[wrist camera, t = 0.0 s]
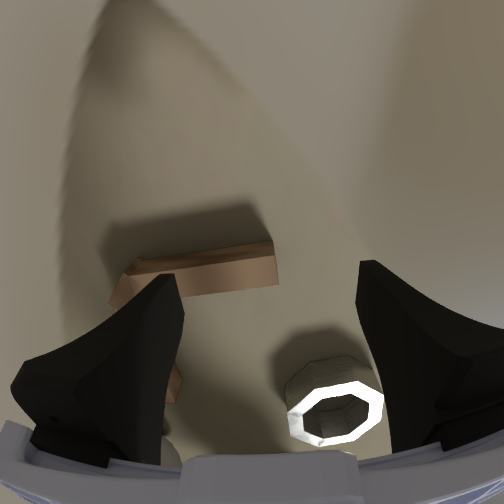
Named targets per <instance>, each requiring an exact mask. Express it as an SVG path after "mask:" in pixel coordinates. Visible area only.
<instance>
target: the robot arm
mask: <svg viewBox="0 0 504 504" xmlns="http://www.w3.org/2000/svg"><path fill="white" fill-rule="evenodd" d="M355 304H356V308H357V313H358V317H359V321H360V324H361V327H362V330H363V332H364V335H365V337H366V340H367V343H368V345H369V348H370V350H371V353H372V356H373V358H374V361H375V364H376V366H377V369H378V373H379V376H380V380H381V384H382V389H383V393H384V398H385V403H386V409H387V415H388V421H389V428H390V436H391V446H392V454H390V455H385V456H381V457H376V458H371V459H365V460H360V461H357V458H356V455H354V454H352V453H348V452H345V451H342V450H315V451H305V452H293V453H277V454H248V455H228V454H214V455H199V456H196V457H194V458H191V459H189V460H187V461H185V462H183V465H182V468H176V467H166V466H161V441H162V427H163V417H164V408H165V400H166V393H167V387H168V383H169V378H170V375H171V371H172V368H173V364H174V361H175V357H176V354H177V350H178V347H179V343H180V339H181V336H182V330H183V322H184V315H185V313H184V310H183V306H182V302H181V298H180V294H179V290H178V286H177V282H176V278H175V274H174V273H167V274H159V275H158V276H156V277H155V278H154V279H153V280H152V281H151V282H150V283H148V284H147V285H146V286H145V287H144V288H143V289H142V290H141V291H140V292H139V293H138V294H137V295H135V296H134V297H133V298H132V299H131V300H130V301H129V302H128V303H126V304H125V305H124V306H123V307H122V308H120V309H119V310H118V311H117V312H116V313H115V314H113V315H112V316H111V317H110V318H108V319H107V320H106V321H104V322H103V323H101V324H100V325H98V326H97V327H96V328H94V329H93V330H91V331H89V332H88V333H86V334H84V335H83V336H81V337H79V338H77V339H76V340H74V341H72V342H70V343H68V344H66V345H64V346H62V347H60V348H58V349H56V350H54V351H51V352H49V353H47V354H44V355H41V356H38V357H35V358H33V359H30V360H27V361H25V362H24V363H23V365H22V367H21V368H20V370H19V372H18V374H17V375H16V377H15V379H14V381H13V382H12V384H11V386H10V387H11V393H12V395H13V397H14V399H15V401H16V402H17V403H18V405H19V406H20V407H21V408H22V409H23V410H24V412H25V413H26V414H27V415H28V416H29V417H30V418H31V419H32V420H33V421H34V423H36V427H35V429H34V431H32V430H31V429H30V428H28V427H25V426H23V425H20V424H17V423H14V422H12V421H9V420H7V421H6V422H5V424H4V426H3V428H2V430H1V432H0V483H1V484H2V485H3V486H5V487H6V488H8V489H9V490H11V491H12V492H14V493H15V494H17V495H18V496H20V497H21V498H23V499H24V500H26V501H28V502H31V503H33V504H479V503H480V502H483V501H485V500H487V499H488V498H490V497H492V496H494V495H496V494H498V493H500V492H501V491H503V490H504V329H500V328H496V327H493V326H489V325H487V324H483V323H481V322H478V321H475V320H472V319H470V318H467V317H465V316H463V315H460V314H458V313H456V312H454V311H452V310H450V309H448V308H445V307H444V306H442V305H440V304H438V303H436V302H435V301H433V300H431V299H430V298H428V297H426V296H425V295H424V294H422V293H420V292H419V291H417V290H416V289H414V288H413V287H411V286H410V285H409V284H407V283H406V282H405V281H403V280H402V279H400V278H399V277H398V276H396V275H395V274H394V273H392V272H391V271H390V270H388V269H387V268H386V267H384V266H383V265H382V264H380V263H379V262H377V261H376V260H366V261H360V266H359V276H358V285H357V293H356V301H355Z"/></svg>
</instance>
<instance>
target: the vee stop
mask: <svg viewBox="0 0 504 504" xmlns="http://www.w3.org/2000/svg"><path fill="white" fill-rule="evenodd" d="M167 273H174V274H175V278H176V282H177V286H178V290H179V294H180V297H188V296H196V295H204V294H212V293H220V292H228V291H235V290H243V289H250V288H257V287H264V286H271V285H278V284H279V281H278V272H277V264H276V257H275V251H274V244H273V241H266V242H260V243H253V244H246V245H240V246H233V247H227V248H220V249H213V250H207V251H200V252H194V253H187V254H181V255H175V256H168V257H162V258H155V259H149V260H142V259H140V258H139V257H138V258H137V259H136V260H135V261H134V262H133V263H132V264H131V265H130V266H129V267H128V268H127V269H126V270H125V271H124V272H123V274H122V276H121V278H120V279H119V281H118V283H117V285H116V287H115V289H114V291H113V293H112V295H111V297H110V299H109V301H108V303H109V304H110V305H111V306H113V309H114V311H115V313H116V312H117V311H118V310H119V309H120V308H122V307H123V306H124V305H125V304H126V303H128V302H129V301H130V300H131V299H132V298H133V297H134V296H135V295H137V294H138V293H139V292H140V291H141V290H142V289H143V288H144V287H145V286H146V285H147V284H148V283H150V282H151V281H152V280H153V279H154V278H155V277H156V276H158V275H159V274H167ZM181 384H182V379H181V376H180V374H179V371H178V368H177V366H176V363H175V361H174V364H173V368H172V371H171V375H170V378H169V383H168V387H167V393H166V400H165V403H176V400H177V397H178V394H179V390H180V387H181Z"/></svg>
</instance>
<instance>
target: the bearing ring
mask: <svg viewBox="0 0 504 504" xmlns="http://www.w3.org/2000/svg"><path fill="white" fill-rule="evenodd" d="M285 391H286V404H287V415H288V422H289V428H290V434H291V437H294V438H296V439H299V440H302V441H304V442H307V443H309V444H312V445H315V446H318V447H320V446H326V445H332V444H338V443H343V442H348V441H353V440H355V439H356V438H358V437H359V436H360V435H362V434H363V433H364V432H366V431H367V430H368V429H370V428H371V427H372V426H374V425H375V424H376V423H377V422H379V421H380V419H381V412H382V405H383V398H384V395H383V392H382V390H381V388H380V385H379V383H378V380H377V378H376V375H375V373H374V371H373V370H372V369H370V368H369V367H367V366H365V365H364V364H362V363H360V362H359V361H357V360H355V359H354V358H352V357H350V356H349V355H347V356H342V357H336V358H331V359H325V360H319V361H312V362H309V363H308V364H307V365H306V366H305V367H304V368H303V369H302V370H301V371H300V372H299V373H298V374H297V375H296V376H295V377H294V378H292V379H291V380H290V381H289V382H288V383H287V384H286V385H285ZM349 393H352V394H354V395H356V396H357V397H356V398H355V399H354V400H352V401H351V402H350V403H349V404H348V405H346V406H345V407H344V408H343V409H338V410H332V411H326V412H320V413H318V412H316V411H314V410H312V409H310V408H311V407H312V406H313V405H315V404H316V403H317V402H318V401H319V400H321V399H322V398H328V397H333V396H339V395H344V394H349Z"/></svg>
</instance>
